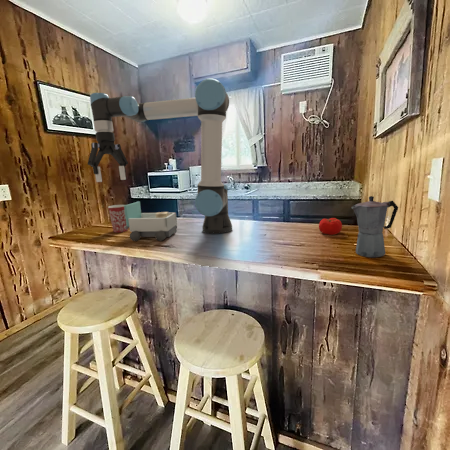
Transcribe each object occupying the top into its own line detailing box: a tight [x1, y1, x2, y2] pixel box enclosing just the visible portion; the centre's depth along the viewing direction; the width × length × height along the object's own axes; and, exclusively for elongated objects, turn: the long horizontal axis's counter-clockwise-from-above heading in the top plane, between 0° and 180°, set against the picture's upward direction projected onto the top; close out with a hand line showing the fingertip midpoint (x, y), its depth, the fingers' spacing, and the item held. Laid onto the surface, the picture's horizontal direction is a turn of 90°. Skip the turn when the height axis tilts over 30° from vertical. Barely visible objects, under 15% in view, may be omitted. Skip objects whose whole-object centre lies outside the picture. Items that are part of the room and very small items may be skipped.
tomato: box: [318, 217, 343, 236], centre depth 116 cm, size 10×11×6 cm
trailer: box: [128, 212, 178, 242], centre depth 123 cm, size 18×18×10 cm
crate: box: [155, 211, 169, 218], centre depth 123 cm, size 5×5×5 cm
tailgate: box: [124, 200, 142, 230], centre depth 123 cm, size 1×16×11 cm, turn 173°
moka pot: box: [351, 195, 399, 258], centre depth 87 cm, size 10×15×20 cm, turn 95°
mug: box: [107, 204, 129, 233], centre depth 137 cm, size 13×9×14 cm
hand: (111, 180), depth 118 cm, fingers open, 13 cm apart
